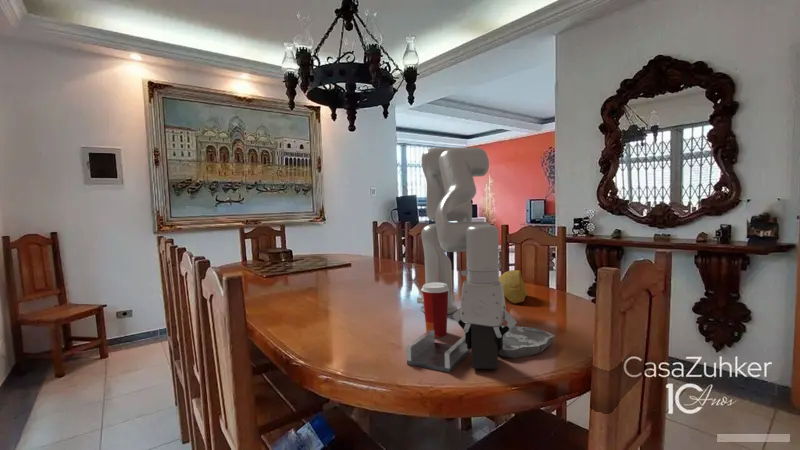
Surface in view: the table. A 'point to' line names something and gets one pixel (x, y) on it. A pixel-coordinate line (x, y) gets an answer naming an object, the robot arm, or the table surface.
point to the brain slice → (525, 341)
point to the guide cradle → (436, 353)
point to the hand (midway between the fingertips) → (483, 348)
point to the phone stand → (483, 347)
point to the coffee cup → (436, 307)
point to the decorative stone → (513, 286)
